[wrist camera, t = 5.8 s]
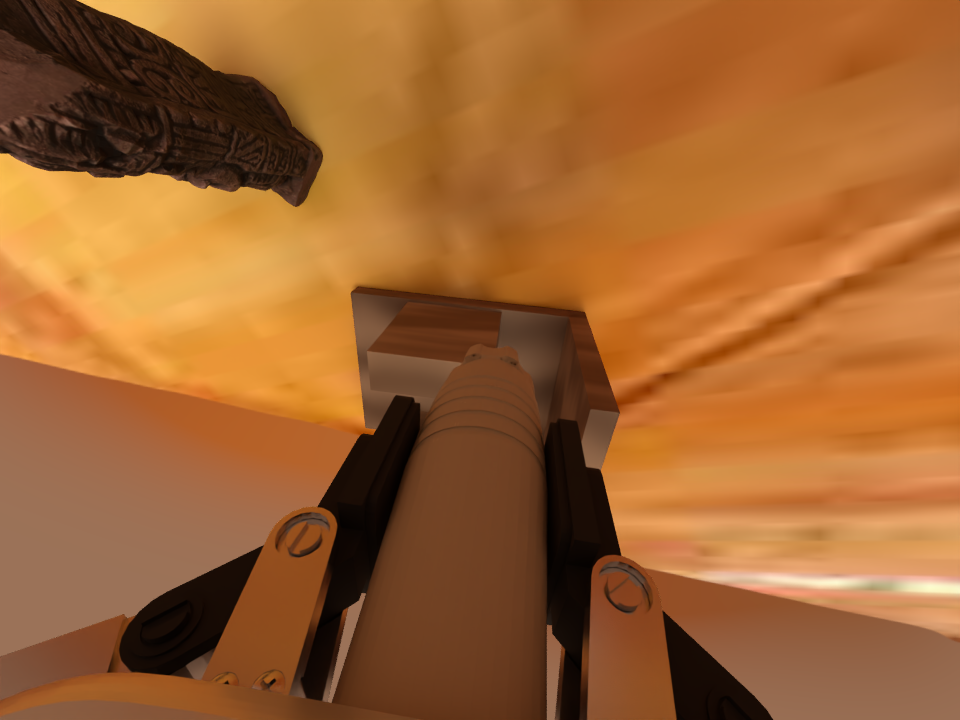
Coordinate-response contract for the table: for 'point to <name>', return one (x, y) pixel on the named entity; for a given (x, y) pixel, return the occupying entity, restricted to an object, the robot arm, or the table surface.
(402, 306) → the wooden stand
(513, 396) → the handle
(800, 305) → the table surface
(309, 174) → the statue
